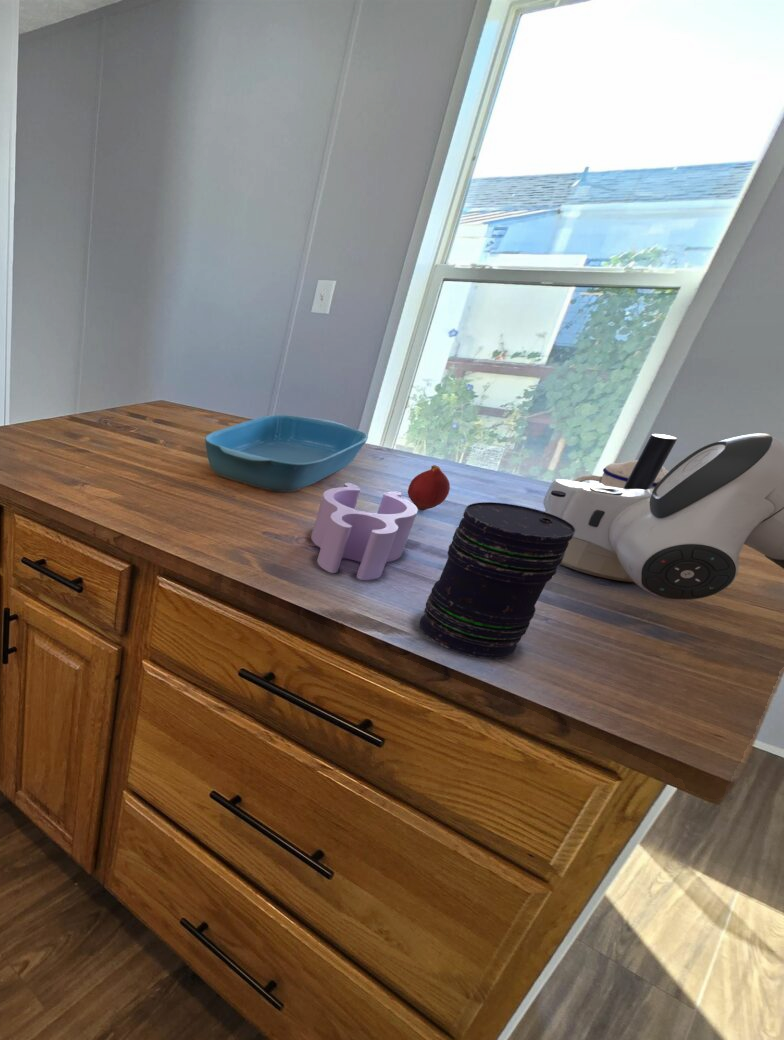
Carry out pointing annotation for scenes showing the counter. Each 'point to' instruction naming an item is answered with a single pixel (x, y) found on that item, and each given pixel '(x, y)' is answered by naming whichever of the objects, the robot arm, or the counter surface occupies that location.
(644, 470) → the black tall cylinder post
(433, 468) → the onion
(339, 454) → the casserole dish
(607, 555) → the bowl
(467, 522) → the oil drum
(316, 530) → the clip
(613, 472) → the teacup with lid
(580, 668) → the counter surface
